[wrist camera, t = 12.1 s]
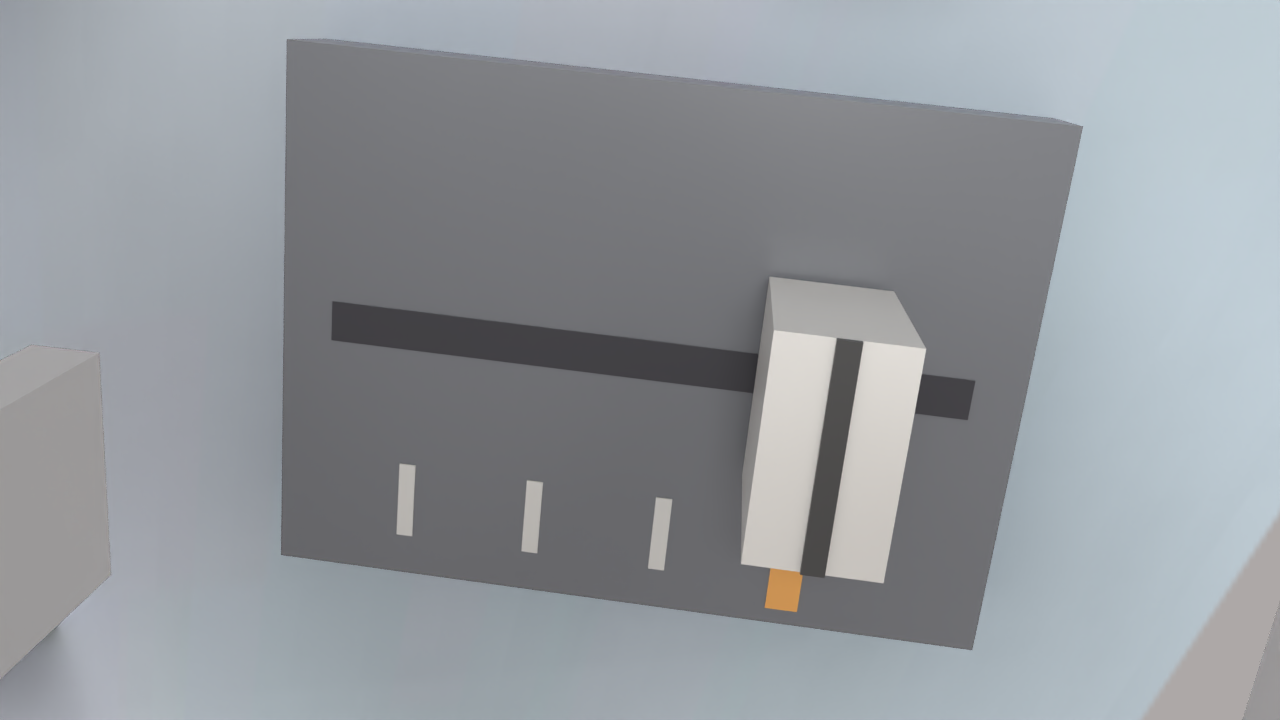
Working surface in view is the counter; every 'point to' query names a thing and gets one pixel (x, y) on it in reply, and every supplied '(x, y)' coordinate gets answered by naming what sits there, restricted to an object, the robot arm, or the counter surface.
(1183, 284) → the counter surface
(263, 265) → the counter surface
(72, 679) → the counter surface
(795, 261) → the console board
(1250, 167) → the counter surface
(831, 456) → the fader tab
